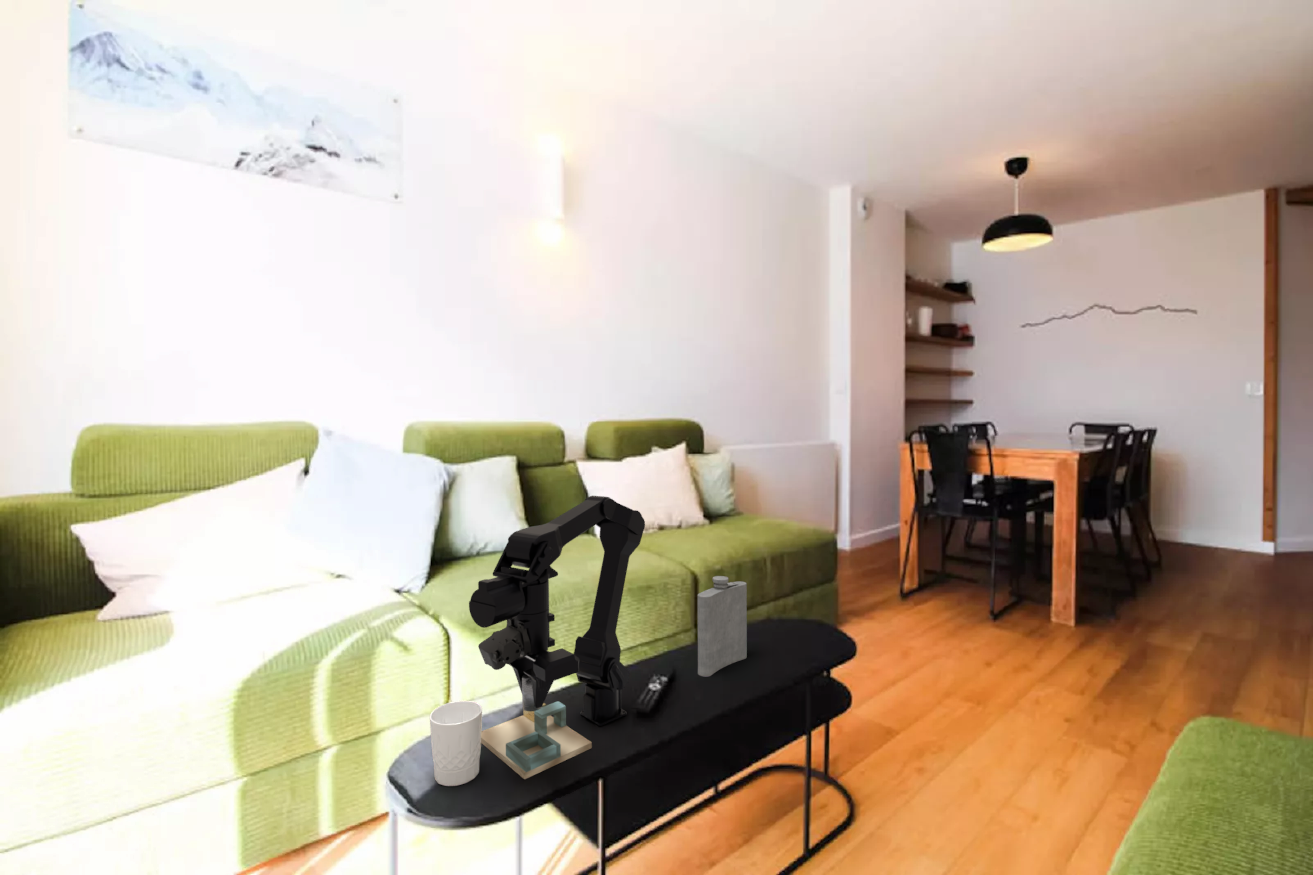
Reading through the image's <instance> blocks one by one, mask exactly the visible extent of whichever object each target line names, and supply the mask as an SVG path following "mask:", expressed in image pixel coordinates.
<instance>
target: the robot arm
mask: <svg viewBox="0 0 1313 875" xmlns="http://www.w3.org/2000/svg"><path fill="white" fill-rule="evenodd" d="M645 522H646V521H645V519H644V517H643V514H642V513H641V512H640V511H639V510H637V509H636V510H633V509H632V508H630V507H628V506H626V505H623V504H620V503H618V502H617V501H615V500H614V499H613V498H611V497H609V496H601V495H590V496H587V497H586V498H585V499H584V501H582V502H581V503H580V502H579V504H577V505H575V506H574V507H572V508H570V509H568V510H567V511H565V512H564V513H562V514H560V515H559V516H557V517H556V518H553V519H552V520H550V521H549V522H547V523H544V524H540V525H534V526H528V527H525V528H522V529H519V530H516V531H514V532H512V533H511V534H510V535H509V536H508V537H507V543H506V545H505V547H504V549H503V551H502V553H501V555H500V556H499V559H498V561H497V563H496V566H495V567H494V570H493V572H492V576H493V578H489V579H486V578H485V579H482V580H479V581H478V582H477V586H478V588H477V589H476V590H475V591H474V592H472V595H471V596H470V600H469V601H468V610H469V613H470V616H471V618H472V620H473V622H474V623H475V624H476V625H477V626H479V627H480V628H482V629H484V628H485V629H486V628H489V627H491V626H494V625H497V624H499V623H502V622H504V621H506V627H504V628H502V629H500V630H497V631H493V633H492V634H491V635H490V636H489V637H486V639H484V640H482V641H481V642H480V643H479V644H478V649H479V652H480V654H481V657H482V659H483V662H484V664H485V665H487V666H489V667H491V668H492V669H493V670H495V671H497V670H498V671H499V670H501V669H503V668H504V667H506V665H509V666H510V667H511V668H512V670H513V672H514V674H515V678H516V681H517V683H518V686H519V689H520V693H521V694H522V676H523V675H525V674H526V675H528V676H529V677H530V678H531V681H532V689H533V697H534V703H535V707H536V708H539V707H542V705H543V703H545V700H546V699H547V697H548V694H549V692H550V690H551V688H552V686H553V683H554V682H555V681H558V680H560V679H563V678H565V677H568V676H572V675H575V674H576V677H577V681H578V682H579V683H583V684H584V690H585V691H584V693H583V709H582V710H580V714H579V715H581V716H583V717H585V718H586V719H587V720H590V721H591V722H592V723H594V724H596V725H597V726H600V727H602V726H604V725H607V724H608V723H611V722H613V721H615V720H618V719H621V718H622V717H625V716H627V711H626V710H625V709H623V708H622V690H624V689H625V688H626V687H625V686H626V685H627V684H629V679H630V674H631V672H630V670H629V669H628V668H627V667H626V666H625V665H624V664H623V663H622V662H621V661H620V660H621V653H622V651H621V650H622V648H621V646H620V642H619V638H618V636H617V627H618V626H617V625H618V622H619V615H620V610H621V605H622V604H621V603H622V599H623V593H624V588H625V582H626V578H627V572H628V568H629V566H628V565H629V560H630V557H631V556H632V554H633V553H634V552H635V550H636V549H637V548H638V547H639V546H640V544H641V541H642V537H643V534H644V531H645V528H646V527H645V526H646V523H645ZM594 526H597V527H598V528H599V540H600V543H601V545H602V549H603V559H602V563H601V568H600V573H599V578H598V584H597V588H596V594H595V599H594V603H593V609H592V615H591V619H590V626H589V628H588V629H587V631H586V632H585V633H584V635H582V636H577V637H576V639H575V646H574V651H573V653H572V652H570V650H569V651H568V650H567V649H565V648H558V649H555V650H553V651H549V648H552V647H555V646H556V639H555V638H553V637H551V636H550V623H551V622H554V621H555V618H556V617H555V614H554V613H552V612H550V579H553V578H556V577H558V575H559V573H558V571H557V570H555V569H554V568H553V567H552V564H553V563H554V562H555V561H556V560H558V558H559V557H560V556H561V555H562V551H563V549H564V547H565V546H566V545H567V544H569V543H570V542H572V541H573V540H574V539H576V538H578V537H579V536H581V535H582V534H584V533H585V532H587V531H588V530H590V529H592V528H593V527H594ZM513 566H514V567H513ZM518 567H521V568H518ZM523 568H526V569H523ZM527 569H528V570H527Z"/></svg>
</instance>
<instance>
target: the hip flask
mask: <svg viewBox="0 0 1313 875" xmlns="http://www.w3.org/2000/svg"><path fill="white" fill-rule="evenodd" d="M712 582H713V587H711V588H709V589H706V590H703V591H702V592H699V593H698V594H697V675H698V676H700V677H704V678H705V677H706V678H707V677H711V676H712V675H714V674H715V673H716V672H718V671H719V670H720V671H721V669H723V668H725V667H727V666H729V665H732V664H734V663H736V662H739V661H742V660H745V659H747V656H748V655H747V653H748V652H747V650H748V649H747V647H748V646H747V642H748V640H747V636H748V633H747V632H748V631H747V630H748V627H747V624H748V623H747V622H748V621H747V620H748V619H747V618H748V617H747V616H748V615H747V610H748V609H747V606H748V605H747V601H748V600H747V599H748V598H747V594H748V593H747V592H748V591H747V589H748V588H747V582H745V581H739V580H738V581H730V582H729V577H728V576H726V575H725V576H724V575H715V576H713V577H712Z"/></svg>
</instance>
